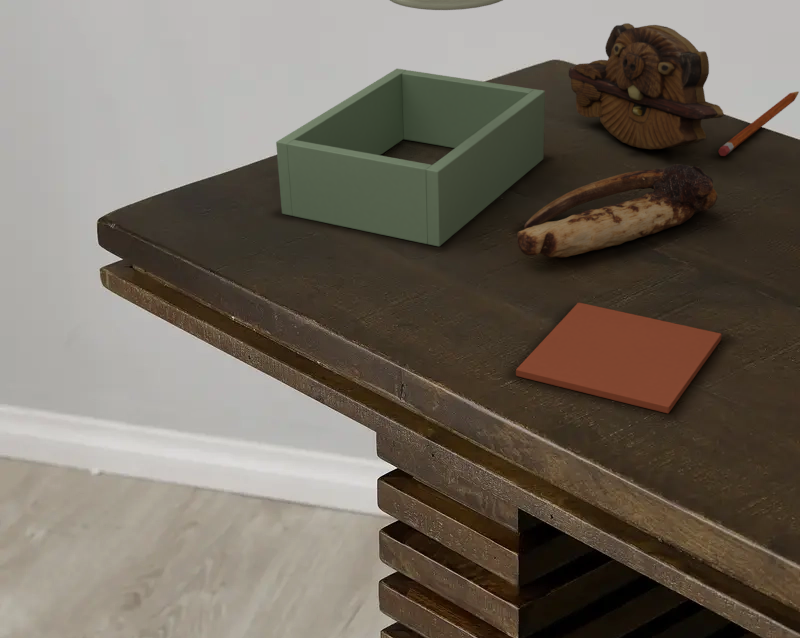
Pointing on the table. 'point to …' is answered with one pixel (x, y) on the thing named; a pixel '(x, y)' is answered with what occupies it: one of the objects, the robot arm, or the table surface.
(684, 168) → the lashed bone hook
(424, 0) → the can
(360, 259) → the table surface
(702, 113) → the wooden carving
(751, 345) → the table surface
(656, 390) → the mat
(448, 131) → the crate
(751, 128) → the pencil
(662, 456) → the table surface
